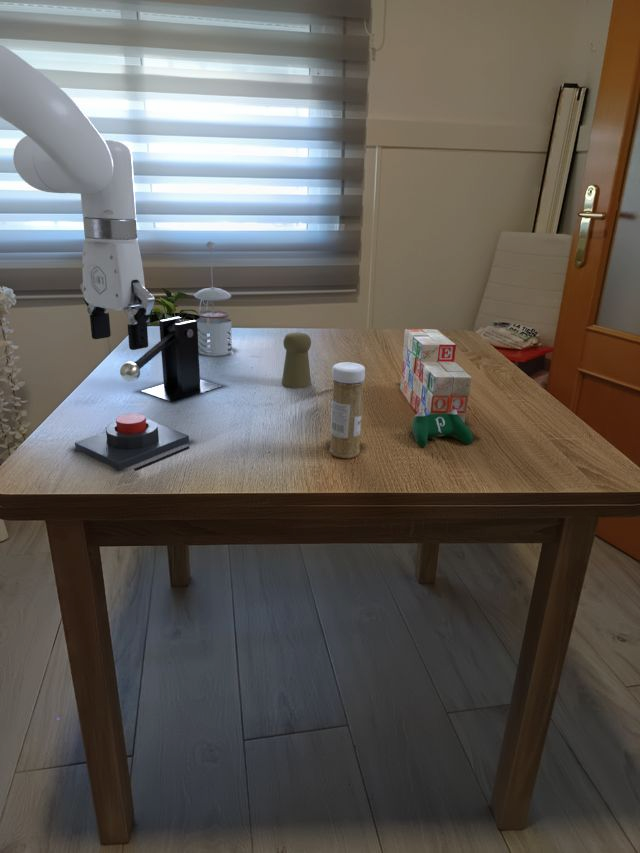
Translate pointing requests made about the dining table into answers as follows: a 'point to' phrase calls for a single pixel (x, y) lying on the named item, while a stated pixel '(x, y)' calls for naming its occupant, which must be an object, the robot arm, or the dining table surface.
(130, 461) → the button block
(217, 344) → the french press
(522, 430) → the dining table surface
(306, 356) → the cork
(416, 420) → the gaming controller
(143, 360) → the switch lever
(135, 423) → the button
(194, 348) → the switch bracket
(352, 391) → the sprinkles bottle
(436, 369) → the stack of blocks
